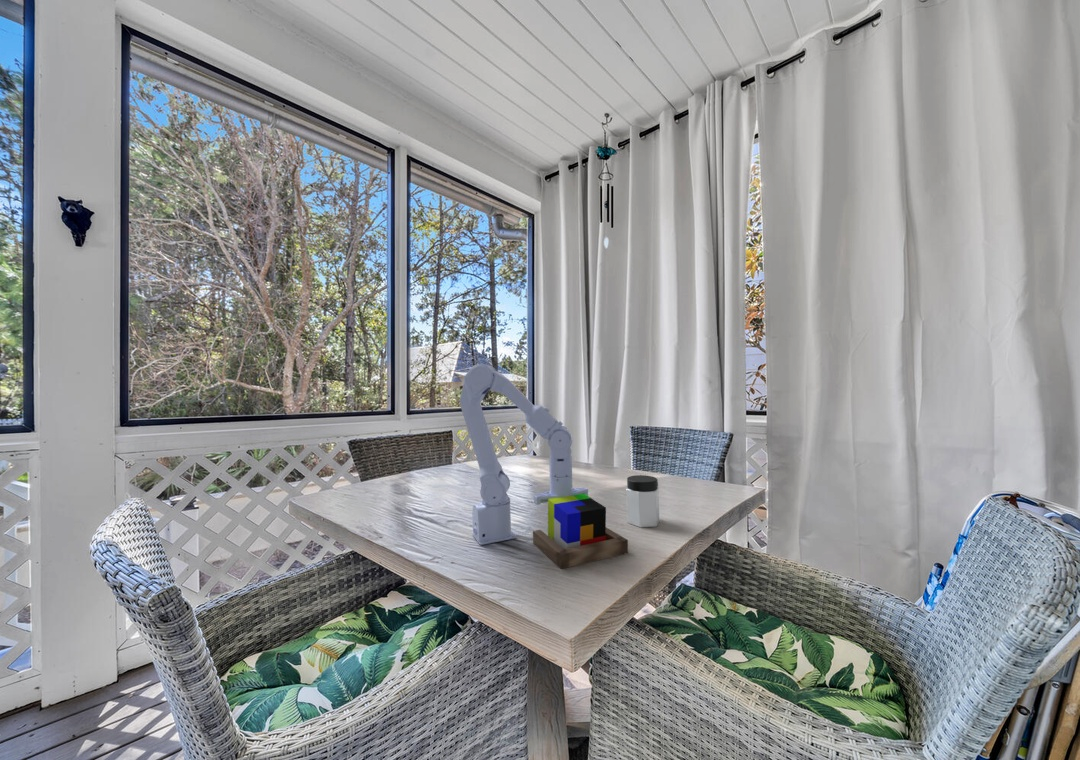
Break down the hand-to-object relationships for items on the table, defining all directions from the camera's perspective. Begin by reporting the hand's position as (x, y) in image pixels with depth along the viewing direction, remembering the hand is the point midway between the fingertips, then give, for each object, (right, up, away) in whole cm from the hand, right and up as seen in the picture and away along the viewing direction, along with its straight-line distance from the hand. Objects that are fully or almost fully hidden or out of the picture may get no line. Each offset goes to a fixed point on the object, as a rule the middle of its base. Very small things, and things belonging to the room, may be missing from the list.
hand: (562, 528), depth 104 cm
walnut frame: (+3, -2, -7) cm, 8 cm away
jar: (+23, -2, +8) cm, 24 cm away
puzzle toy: (+3, -2, -7) cm, 7 cm away
